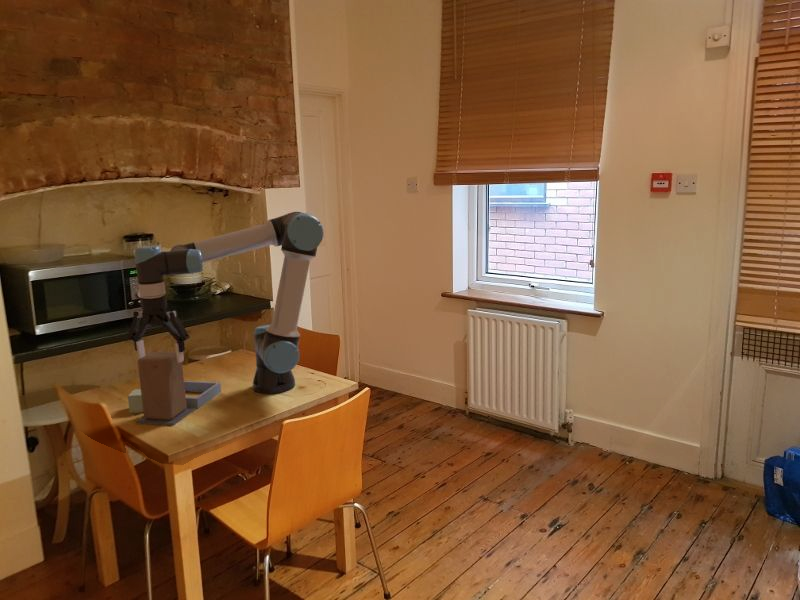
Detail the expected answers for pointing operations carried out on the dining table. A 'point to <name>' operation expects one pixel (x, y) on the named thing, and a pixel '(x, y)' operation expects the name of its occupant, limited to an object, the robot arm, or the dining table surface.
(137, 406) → the sage cube
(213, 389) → the blue square frame
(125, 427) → the dining table surface
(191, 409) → the plate
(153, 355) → the wooden block
